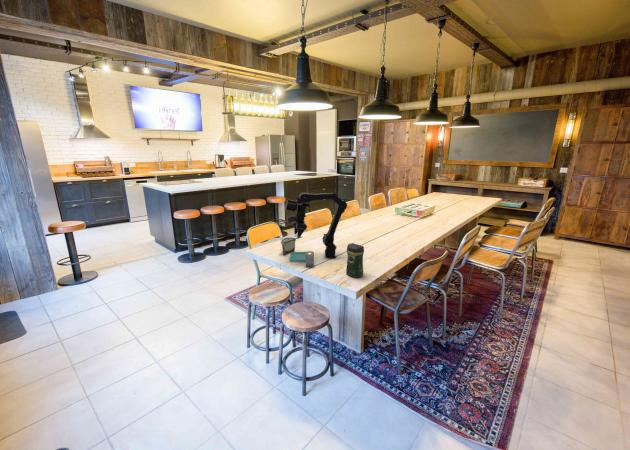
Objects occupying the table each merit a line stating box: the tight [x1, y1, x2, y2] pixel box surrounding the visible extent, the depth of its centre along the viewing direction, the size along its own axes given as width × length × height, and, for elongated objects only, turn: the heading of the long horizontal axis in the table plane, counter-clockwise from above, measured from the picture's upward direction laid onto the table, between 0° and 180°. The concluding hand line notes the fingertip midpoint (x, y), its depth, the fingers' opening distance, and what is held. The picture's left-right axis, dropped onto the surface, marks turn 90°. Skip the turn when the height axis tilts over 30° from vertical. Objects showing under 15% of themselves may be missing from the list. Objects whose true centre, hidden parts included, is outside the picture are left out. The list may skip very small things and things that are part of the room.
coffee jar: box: [345, 242, 365, 278], centre depth 168 cm, size 10×8×19 cm
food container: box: [280, 236, 297, 256], centre depth 204 cm, size 12×6×10 cm, turn 141°
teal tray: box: [289, 251, 306, 263], centre depth 196 cm, size 14×14×2 cm
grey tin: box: [304, 250, 315, 269], centre depth 181 cm, size 5×5×9 cm
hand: (296, 236), depth 189 cm, fingers open, 9 cm apart
